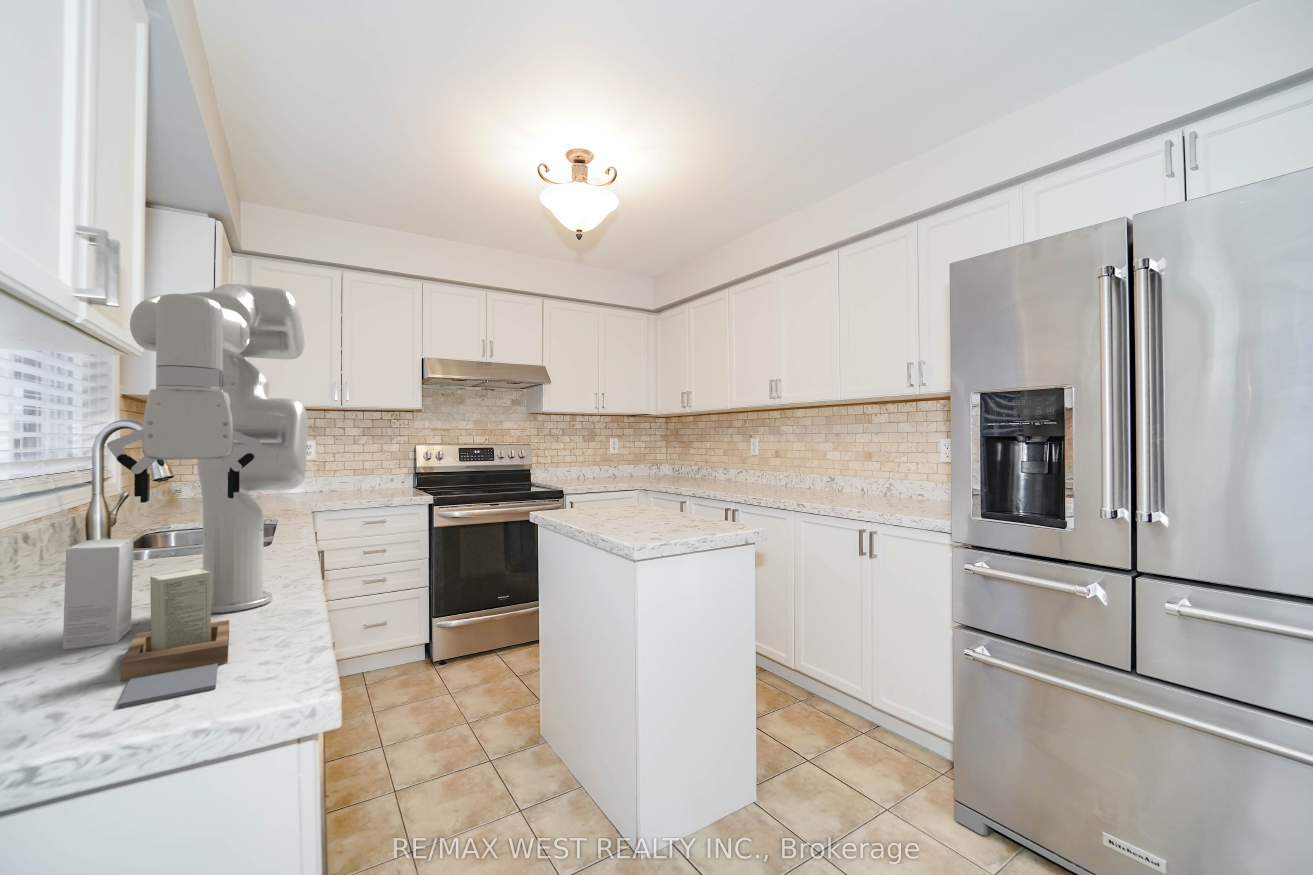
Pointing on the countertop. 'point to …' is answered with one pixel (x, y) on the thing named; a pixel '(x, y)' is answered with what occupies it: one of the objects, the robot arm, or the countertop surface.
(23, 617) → the countertop surface
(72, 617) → the skincare box
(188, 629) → the skincare box
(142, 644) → the hollow wooden block
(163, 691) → the slate mat
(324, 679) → the countertop surface
